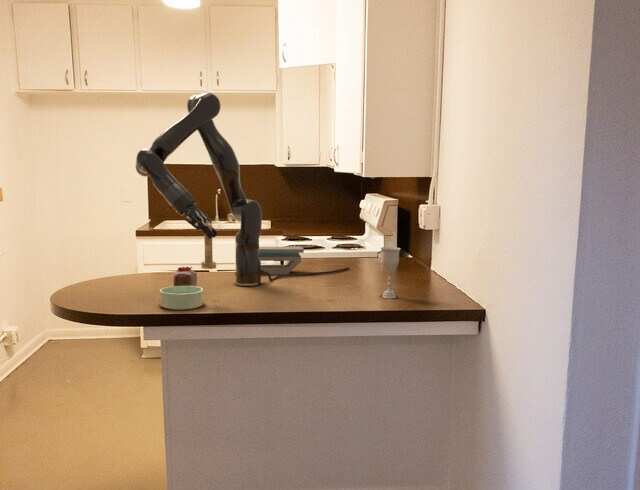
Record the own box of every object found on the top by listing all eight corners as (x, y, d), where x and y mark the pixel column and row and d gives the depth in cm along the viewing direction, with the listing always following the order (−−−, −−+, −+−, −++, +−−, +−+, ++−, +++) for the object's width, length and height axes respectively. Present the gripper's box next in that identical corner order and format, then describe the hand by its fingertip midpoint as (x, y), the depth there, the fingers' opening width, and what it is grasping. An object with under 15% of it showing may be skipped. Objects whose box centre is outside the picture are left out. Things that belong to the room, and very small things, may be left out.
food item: (176, 289, 249) (175, 263, 248) (197, 289, 250) (197, 263, 248) (172, 296, 236) (171, 269, 234) (195, 296, 237) (194, 269, 235)
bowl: (198, 300, 232) (198, 284, 231) (207, 308, 219) (207, 292, 218) (157, 302, 227) (156, 287, 226) (163, 311, 214) (163, 295, 213)
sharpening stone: (245, 274, 282) (245, 249, 280) (244, 271, 290) (244, 246, 288) (303, 274, 286) (303, 249, 284) (301, 271, 293) (301, 246, 291)
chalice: (400, 296, 245) (402, 247, 241) (396, 299, 238) (398, 250, 235) (381, 294, 247) (383, 246, 243) (376, 297, 241) (378, 248, 237)
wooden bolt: (214, 266, 229) (213, 223, 226) (217, 268, 225) (217, 224, 222) (200, 266, 227) (199, 223, 224) (203, 269, 223) (202, 224, 220)
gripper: (178, 192, 216) (213, 231, 216) (195, 190, 229) (228, 226, 229) (163, 207, 218) (198, 246, 218) (181, 204, 231) (214, 241, 231)
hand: (214, 236), depth 223 cm, fingers closed on wooden bolt, 2 cm apart
